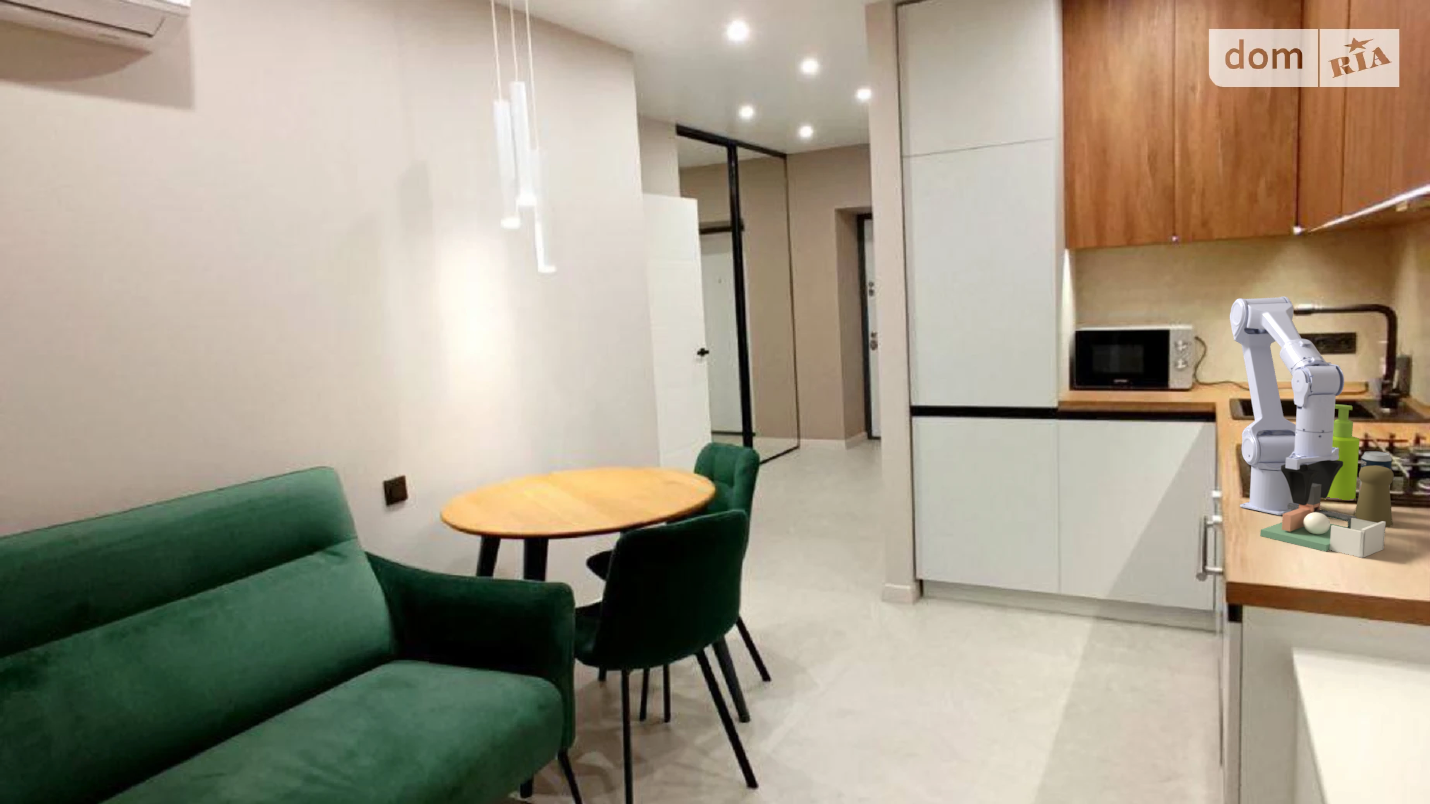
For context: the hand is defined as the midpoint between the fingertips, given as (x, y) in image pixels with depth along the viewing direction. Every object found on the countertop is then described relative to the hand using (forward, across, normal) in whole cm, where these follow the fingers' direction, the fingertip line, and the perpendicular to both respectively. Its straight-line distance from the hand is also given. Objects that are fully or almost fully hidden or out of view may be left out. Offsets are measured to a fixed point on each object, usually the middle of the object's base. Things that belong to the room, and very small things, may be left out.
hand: (1309, 500), depth 157 cm
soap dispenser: (+6, +26, +8) cm, 28 cm away
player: (+4, -3, 0) cm, 5 cm away
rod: (+5, 0, -2) cm, 5 cm away
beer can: (+6, +21, -2) cm, 22 cm away
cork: (+6, +14, -4) cm, 16 cm away
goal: (+6, -5, -10) cm, 12 cm away
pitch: (+6, -3, -2) cm, 7 cm away
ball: (+3, -5, -4) cm, 6 cm away
